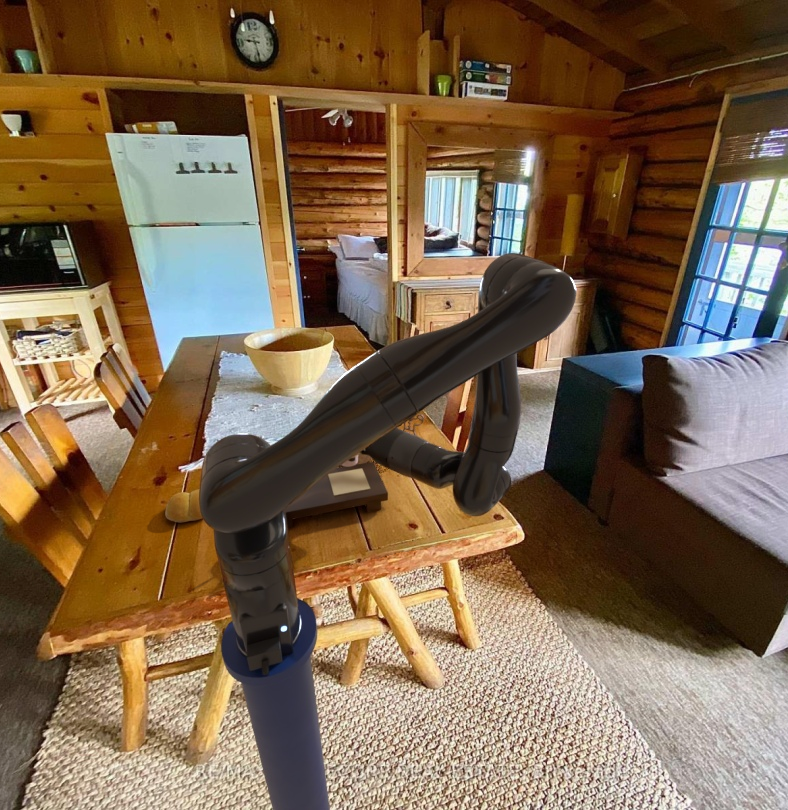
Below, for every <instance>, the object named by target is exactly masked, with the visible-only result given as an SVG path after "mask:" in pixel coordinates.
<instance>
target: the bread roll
mask: <svg viewBox="0 0 788 810" xmlns="http://www.w3.org/2000/svg"><path fill="white" fill-rule="evenodd" d="M164 514H165V518H166V519H167V520H168V521H171V522H175V523H186V522H190V521H191V522H192V521H193V522H195V521H199V520H203V518H202V515H201V512H200V506H199V489H195V490H192V491H191V492H186V491H182V492H177V493H175V494H174V495H172V496H171V497H170V499H169V500H168V502H167V504H166V507H165V513H164Z"/></svg>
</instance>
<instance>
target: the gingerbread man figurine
mask: <svg viewBox="0 0 788 810" xmlns="http://www.w3.org/2000/svg"><path fill="white" fill-rule="evenodd" d="M416 420H418V421H420V423H413V425H411V423H412V422H414V421H416ZM424 422H425V415H424V414H422V413H418V414H417V415H416V416H414V417H413V418H411V419H410V420H408V421H407V422H405V423H404V424H403V429H402V430H403V431H409V432H408V433H411V432H412V434H413V435H416V436H418V435H417V432H416V427H419V426H421V425H422V424H423V423H424ZM406 424H408V426H407V425H406ZM400 427H401V426H399V427H398V428H400ZM411 427H412V428H411Z"/></svg>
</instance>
